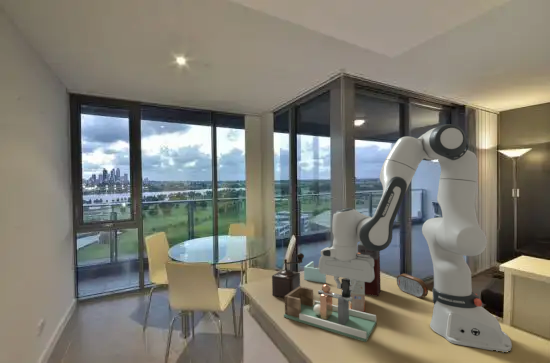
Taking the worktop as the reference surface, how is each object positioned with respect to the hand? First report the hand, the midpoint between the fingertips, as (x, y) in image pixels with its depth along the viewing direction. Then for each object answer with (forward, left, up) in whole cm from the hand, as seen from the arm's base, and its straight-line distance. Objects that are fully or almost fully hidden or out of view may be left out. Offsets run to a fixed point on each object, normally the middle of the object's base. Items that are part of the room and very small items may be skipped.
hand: (345, 289), depth 99 cm
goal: (+20, 0, -12) cm, 23 cm away
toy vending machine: (+2, -36, -14) cm, 39 cm away
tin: (-16, -43, -14) cm, 48 cm away
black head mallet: (+5, 0, -12) cm, 13 cm away
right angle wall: (+30, -41, -14) cm, 53 cm away
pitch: (+7, 0, -13) cm, 15 cm away
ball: (+11, 0, -10) cm, 15 cm away
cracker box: (+2, -19, -14) cm, 23 cm away
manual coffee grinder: (+34, -16, -14) cm, 40 cm away
